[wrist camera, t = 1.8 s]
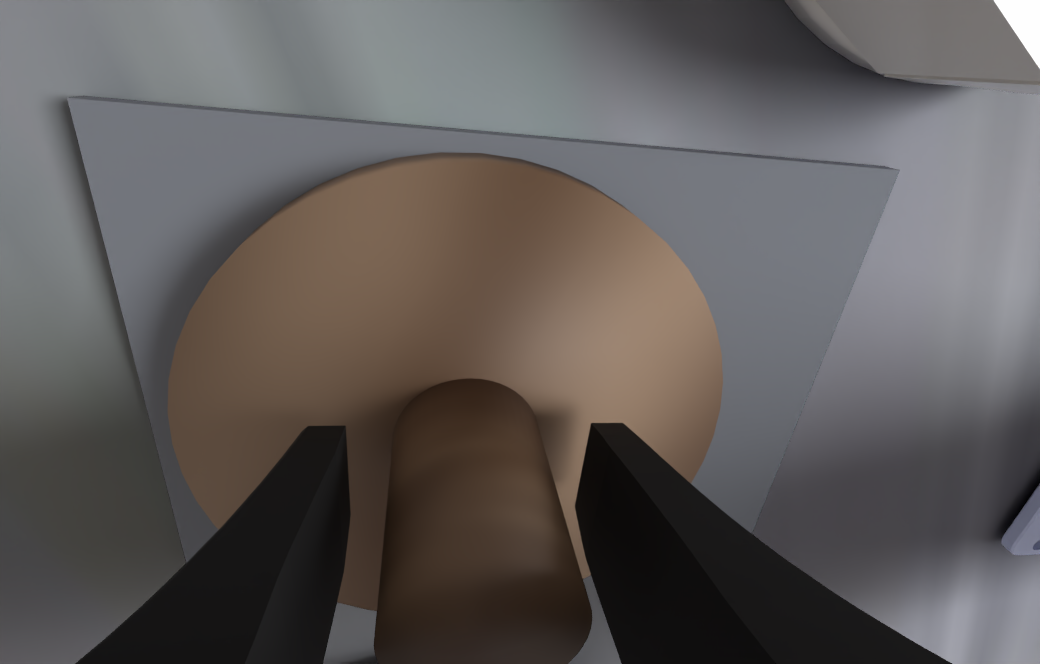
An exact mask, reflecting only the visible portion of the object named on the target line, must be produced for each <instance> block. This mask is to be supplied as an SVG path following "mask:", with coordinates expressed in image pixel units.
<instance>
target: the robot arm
mask: <svg viewBox="0 0 1040 664" xmlns="http://www.w3.org/2000/svg"><path fill="white" fill-rule="evenodd" d="M575 510H576V515H577V520H578V525H579V530H580V535H581V540H582V544H583V549H584V553H585V557H586V561H587V564H588V567H589V570H590V573H591V576H592V579H593V582H594V585H595V588H596V591H597V594H598V597H599V599H600V602H601V605H602V608H603V611H604V614H605V617H606V620H607V623H608V625H609V628H610V631H611V634H612V637H613V640H614V643H615V646H616V649H617V651H618V654H619V657H620V660H621V663H622V664H952V663H950V662H948V661H946V660H945V659H943V658H941V657H939V656H938V655H936V654H934V653H932V652H931V651H929V650H927V649H925V648H923V647H922V646H920V645H918V644H916V643H915V642H913V641H911V640H910V639H908V638H906V637H905V636H903V635H901V634H900V633H898V632H896V631H895V630H893V629H891V628H890V627H888V626H886V625H885V624H883V623H881V622H880V621H878V620H876V619H875V618H873V617H872V616H870V615H868V614H867V613H865V612H863V611H862V610H860V609H858V608H857V607H855V606H854V605H852V604H851V603H849V602H847V601H846V600H844V599H843V598H841V597H840V596H838V595H837V594H835V593H833V592H832V591H830V590H829V589H828V588H826V587H825V586H823V585H822V584H820V583H819V582H817V581H816V580H814V579H813V578H812V577H810V576H809V575H807V574H806V573H804V572H803V571H801V570H800V569H799V568H797V567H796V566H794V565H793V564H791V563H790V562H788V561H787V560H786V559H784V558H783V557H782V556H780V555H779V554H777V553H776V552H775V551H773V550H772V549H771V548H769V547H768V546H767V545H765V544H764V543H763V542H761V541H760V540H759V539H758V538H756V537H755V536H754V535H752V534H751V533H750V532H749V531H747V530H746V529H745V528H744V527H742V526H741V525H740V524H738V523H737V522H736V521H735V520H733V519H732V518H731V517H730V516H728V515H727V514H726V513H725V512H724V511H722V510H721V509H720V508H719V507H718V506H716V505H715V504H714V503H713V502H712V501H710V500H709V499H708V498H707V497H706V496H705V495H703V494H702V493H701V492H700V491H699V490H698V489H696V488H695V487H694V486H693V485H692V484H691V483H690V482H688V481H687V480H686V479H685V478H684V477H683V476H682V475H681V474H679V473H678V472H677V471H676V470H675V469H674V468H673V467H672V466H671V465H669V464H668V463H667V462H666V461H665V460H664V459H663V458H662V457H661V456H660V455H658V454H657V453H656V452H655V451H654V450H653V449H652V448H651V447H650V446H649V445H647V444H646V443H645V442H644V441H643V440H642V439H641V438H640V437H639V436H637V435H636V434H635V433H634V432H633V431H632V430H631V429H629V428H628V427H627V426H626V425H625V424H624V423H591V425H590V430H589V436H588V441H587V446H586V451H585V456H584V461H583V466H582V471H581V476H580V482H579V487H578V492H577V497H576V502H575ZM350 517H351V510H350V492H349V474H348V457H347V439H346V426H307V427H306V428H305V429H304V430H303V431H301V433H300V434H299V435H298V437H297V438H296V439H295V441H294V442H293V443H292V445H291V446H290V447H289V448H288V450H287V451H286V452H285V453H284V455H283V456H282V457H281V459H280V460H279V461H278V462H277V463H276V465H275V466H274V467H273V468H272V470H271V471H270V472H269V473H268V474H267V476H266V477H265V478H264V479H263V480H262V482H261V483H260V484H259V485H258V486H257V487H256V489H255V490H254V491H253V492H252V493H251V494H250V495H249V497H248V498H247V499H246V500H245V501H244V502H243V503H242V504H241V506H240V507H239V508H238V509H237V510H236V511H235V512H234V514H233V515H232V516H231V517H230V518H229V519H228V520H227V521H226V522H225V524H224V525H223V526H222V527H221V528H220V529H219V530H218V531H217V532H216V533H215V534H214V535H213V536H212V537H211V538H210V539H209V540H208V541H207V542H206V543H205V544H204V545H203V546H202V547H201V548H200V549H199V550H198V552H197V553H196V554H195V555H194V556H193V557H192V558H191V559H190V560H189V561H188V562H187V563H186V564H185V565H184V566H183V567H182V568H181V569H180V570H179V571H178V572H177V573H176V574H175V575H174V576H173V577H172V578H171V579H170V580H169V581H168V582H167V583H166V584H165V585H163V586H162V587H161V588H160V589H159V590H158V591H157V592H156V593H155V594H154V595H153V596H152V597H151V598H150V599H149V600H148V601H146V602H145V603H144V604H143V605H142V606H141V607H140V608H139V609H138V610H137V611H136V612H134V613H133V614H132V615H131V616H130V617H129V618H128V619H127V620H126V621H124V622H123V623H122V624H121V625H120V626H119V627H118V628H117V629H115V630H114V631H113V632H112V633H111V634H110V635H109V636H108V637H106V638H105V639H104V640H103V641H102V642H101V643H100V644H98V645H97V646H96V647H95V648H94V649H92V650H91V651H90V652H89V653H88V654H86V655H85V656H84V657H83V658H82V659H80V660H79V661H78V662H77V663H76V664H323V660H324V656H325V651H326V647H327V643H328V639H329V634H330V630H331V626H332V622H333V617H334V613H335V609H336V604H337V600H338V596H339V591H340V587H341V582H342V578H343V574H344V567H345V559H346V551H347V543H348V534H349V526H350ZM1002 545H1003V546H1004V547H1005V548H1006V549H1007V550H1009V551H1010V552H1011V553H1012V554H1013V555H1034V554H1040V484H1039V485H1038V487H1037V488H1036V490H1035V491H1034V493H1033V494H1032V495H1031V497H1030V498H1029V500H1028V501H1027V503H1026V504H1025V505H1024V507H1023V508H1022V510H1021V511H1020V513H1019V514H1018V515H1017V517H1016V518H1015V520H1014V521H1013V523H1012V524H1011V525H1010V527H1009V528H1008V530H1007V531H1006V533H1005V534H1004V535H1003V537H1002Z"/></svg>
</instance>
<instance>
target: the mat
mask: <svg viewBox="0 0 1040 664" xmlns="http://www.w3.org/2000/svg"><path fill="white" fill-rule="evenodd" d="M67 100H68V104H69V108H70V112H71V116H72V120H73V124H74V127H75V131H76V135H77V139H78V143H79V147H80V151H81V155H82V159H83V163H84V166H85V170H86V174H87V178H88V182H89V186H90V190H91V194H92V198H93V202H94V205H95V209H96V213H97V217H98V221H99V225H100V229H101V233H102V237H103V241H104V244H105V248H106V252H107V256H108V260H109V264H110V268H111V272H112V276H113V279H114V283H115V287H116V291H117V295H118V299H119V303H120V307H121V311H122V315H123V318H124V322H125V326H126V330H127V334H128V338H129V342H130V346H131V350H132V354H133V357H134V361H135V365H136V369H137V373H138V377H139V381H140V385H141V389H142V393H143V396H144V400H145V404H146V408H147V412H148V416H149V420H150V424H151V428H152V432H153V435H154V439H155V443H156V447H157V451H158V455H159V459H160V463H161V467H162V471H163V474H164V478H165V482H166V486H167V490H168V494H169V498H170V502H171V506H172V510H173V513H174V517H175V521H176V525H177V529H178V533H179V537H180V541H181V545H182V549H183V552H184V556H185V560H186V563H187V562H188V561H189V560H190V559H191V558H192V557H193V556H194V555H195V554H196V553H197V552H198V550H199V549H200V548H201V547H202V546H203V545H204V544H205V543H206V542H207V541H208V540H209V539H210V538H211V537H212V536H213V535H214V534H215V533H216V532H217V531H218V530H219V529H218V528H217V527H216V526H215V525H214V524H213V523H212V521H211V520H210V519H209V517H208V516H207V515H206V513H205V512H204V511H203V509H202V508H201V506H200V505H199V504H198V502H197V501H196V499H195V497H194V495H193V494H192V492H191V490H190V488H189V486H188V484H187V482H186V480H185V478H184V476H183V474H182V472H181V469H180V466H179V463H178V460H177V457H176V454H175V451H174V448H173V445H172V439H171V432H170V425H169V419H168V381H169V375H170V370H171V366H172V361H173V356H174V351H175V347H176V344H177V341H178V339H179V336H180V334H181V331H182V329H183V327H184V324H185V322H186V319H187V317H188V314H189V312H190V310H191V309H192V307H193V305H194V304H195V302H196V301H197V299H198V297H199V296H200V294H201V293H202V291H203V289H204V288H205V286H206V285H207V283H208V281H209V280H210V279H211V277H212V276H213V275H214V274H215V273H216V272H217V271H218V269H219V268H220V267H221V266H222V265H223V264H224V263H225V262H226V260H227V259H228V258H229V257H230V256H231V255H232V254H233V252H234V251H235V250H236V249H237V248H238V247H239V246H240V245H241V244H242V243H243V242H244V241H245V240H246V239H247V238H248V237H249V236H250V235H251V234H252V233H253V232H254V231H255V230H256V229H257V228H258V227H259V226H260V225H262V224H263V223H264V222H265V221H267V220H268V219H269V218H270V217H271V216H273V215H274V214H275V213H276V212H277V211H279V210H280V209H281V208H282V207H283V206H285V205H286V204H288V203H289V202H291V201H293V200H294V199H296V198H298V197H299V196H301V195H303V194H304V193H306V192H308V191H309V190H311V189H313V188H314V187H316V186H318V185H319V184H322V183H324V182H326V181H329V180H331V179H333V178H336V177H338V176H341V175H343V174H345V173H348V172H350V171H352V170H355V169H357V168H361V167H364V166H368V165H372V164H376V163H379V162H383V161H387V160H391V159H394V158H399V157H407V156H415V155H423V154H431V153H439V152H445V153H484V154H491V155H498V156H505V157H511V158H518V159H523V160H526V161H529V162H533V163H536V164H540V165H543V166H546V167H550V168H553V169H557V170H559V171H561V172H564V173H566V174H568V175H570V176H572V177H575V178H577V179H579V180H581V181H583V182H586V183H588V184H590V185H592V186H593V187H595V188H597V189H598V190H600V191H601V192H603V193H604V194H606V195H607V196H609V197H611V198H612V199H614V200H615V201H617V202H618V203H620V204H621V205H623V206H624V207H625V208H626V209H628V210H629V211H630V212H631V213H633V214H634V215H635V216H636V217H638V218H639V219H640V220H641V221H642V222H644V223H645V224H646V225H647V226H648V227H649V228H650V229H652V230H653V231H654V232H655V233H656V234H657V235H658V236H659V237H661V238H662V239H663V240H664V241H665V242H666V243H667V244H668V245H669V246H670V247H671V249H672V250H673V251H674V252H675V253H676V255H677V256H678V257H679V258H680V259H681V261H682V262H683V263H684V264H685V266H686V267H687V268H688V269H689V271H690V273H691V274H692V276H693V278H694V279H695V281H696V283H697V284H698V286H699V288H700V290H701V291H702V293H703V295H704V296H705V299H706V301H707V304H708V307H709V309H710V312H711V314H712V317H713V320H714V322H715V325H716V329H717V334H718V339H719V344H720V348H721V353H722V371H723V387H722V397H721V407H720V412H719V416H718V420H717V424H716V428H715V432H714V436H713V439H712V441H711V444H710V446H709V449H708V451H707V454H706V456H705V459H704V461H703V463H702V465H701V466H700V468H699V470H698V472H697V474H696V475H695V477H694V479H693V481H692V483H691V484H692V485H693V486H694V487H695V488H696V489H698V490H699V491H700V492H701V493H702V494H703V495H705V496H706V497H707V498H708V499H709V500H710V501H712V502H713V503H714V504H715V505H716V506H718V507H719V508H720V509H721V510H722V511H724V512H725V513H726V514H727V515H728V516H730V517H731V518H732V519H733V520H735V521H736V522H737V523H738V524H740V525H741V526H742V527H744V528H745V529H746V530H747V531H749V532H750V533H751V534H752V532H753V530H754V527H755V525H756V522H757V520H758V518H759V515H760V513H761V510H762V508H763V505H764V503H765V500H766V498H767V495H768V493H769V491H770V488H771V486H772V483H773V481H774V478H775V476H776V473H777V471H778V468H779V466H780V464H781V461H782V459H783V456H784V454H785V451H786V449H787V446H788V444H789V441H790V439H791V437H792V434H793V432H794V429H795V427H796V424H797V422H798V419H799V417H800V414H801V412H802V409H803V407H804V405H805V402H806V400H807V397H808V395H809V392H810V390H811V387H812V385H813V382H814V380H815V378H816V375H817V373H818V370H819V368H820V365H821V363H822V360H823V358H824V355H825V353H826V351H827V348H828V346H829V343H830V341H831V338H832V336H833V333H834V331H835V328H836V326H837V323H838V321H839V319H840V316H841V314H842V311H843V309H844V306H845V304H846V301H847V299H848V296H849V294H850V292H851V289H852V287H853V284H854V282H855V279H856V277H857V274H858V272H859V269H860V267H861V265H862V262H863V260H864V257H865V255H866V252H867V250H868V247H869V245H870V242H871V240H872V238H873V235H874V233H875V230H876V228H877V225H878V223H879V220H880V218H881V215H882V213H883V210H884V208H885V206H886V203H887V201H888V198H889V196H890V193H891V191H892V188H893V186H894V183H895V181H896V179H897V176H898V174H899V171H900V170H897V169H893V168H889V167H885V166H875V165H864V164H852V163H841V162H829V161H818V160H807V159H795V158H784V157H772V156H761V155H750V154H738V153H727V152H716V151H704V150H693V149H681V148H670V147H659V146H647V145H636V144H625V143H613V142H602V141H590V140H579V139H568V138H556V137H545V136H534V135H522V134H511V133H499V132H488V131H477V130H465V129H454V128H443V127H431V126H420V125H408V124H397V123H386V122H374V121H363V120H351V119H340V118H329V117H317V116H306V115H295V114H283V113H272V112H260V111H249V110H238V109H226V108H215V107H204V106H192V105H181V104H169V103H158V102H147V101H135V100H124V99H113V98H101V97H90V96H78V97H70V98H67Z"/></svg>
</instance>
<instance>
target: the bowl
mask: <svg viewBox="0 0 1040 664" xmlns="http://www.w3.org/2000/svg"><path fill="white" fill-rule="evenodd" d="M784 1H785V2H786V4H787V5H788V6H789V8H790V9H791V10H792V12H793V13H794V14H795V16H796V17H797V18H798V19H799V20H800V21H801V22H802V23H803V24H804V25H805V26H806V27H807V28H808V29H809V30H810V31H811V32H812V33H813V34H814V35H816V36H817V37H818V38H819V39H820V40H821V41H822V42H823V43H824V44H825V45H827V46H828V47H830V48H831V49H833V50H834V51H836V52H837V53H839V54H840V55H842V56H843V57H845V58H847V59H848V60H850V61H851V62H853V63H854V64H857V65H859V66H862V67H864V68H866V69H869V70H871V71H874V72H876V73H879V74H881V75H883V76H884V77H891V78H896V79H901V80H906V81H910V82H915V83H926V84H942V85H956V86H964V87H972V88H980V89H989V90H997V91H1005V92H1013V93H1021V94H1036V95H1040V0H784Z"/></svg>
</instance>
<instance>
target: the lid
mask: <svg viewBox="0 0 1040 664" xmlns="http://www.w3.org/2000/svg"><path fill="white" fill-rule="evenodd" d="M722 387H723V371H722V353H721V348H720V344H719V339H718V334H717V329H716V325H715V322H714V320H713V317H712V314H711V312H710V309H709V307H708V304H707V301H706V299H705V296H704V295H703V293H702V291H701V290H700V288H699V286H698V284H697V283H696V281H695V279H694V278H693V276H692V274H691V273H690V271H689V269H688V268H687V267H686V266H685V264H684V263H683V262H682V261H681V259H680V258H679V257H678V256H677V255H676V253H675V252H674V251H673V250H672V249H671V247H670V246H669V245H668V244H667V243H666V242H665V241H664V240H663V239H662V238H661V237H659V236H658V235H657V234H656V233H655V232H654V231H653V230H652V229H650V228H649V227H648V226H647V225H646V224H645V223H644V222H642V221H641V220H640V219H639V218H638V217H636V216H635V215H634V214H633V213H631V212H630V211H629V210H628V209H626V208H625V207H624V206H623V205H621V204H620V203H618V202H617V201H615V200H614V199H612V198H611V197H609V196H607V195H606V194H604V193H603V192H601V191H600V190H598V189H597V188H595V187H593V186H592V185H590V184H588V183H586V182H583V181H581V180H579V179H577V178H575V177H572V176H570V175H568V174H566V173H564V172H561V171H559V170H557V169H553V168H550V167H546V166H543V165H540V164H536V163H533V162H529V161H526V160H523V159H518V158H511V157H505V156H498V155H491V154H484V153H445V152H439V153H431V154H423V155H415V156H407V157H399V158H394V159H391V160H387V161H383V162H379V163H376V164H372V165H368V166H364V167H361V168H357V169H355V170H352V171H350V172H348V173H345V174H343V175H341V176H338V177H336V178H333V179H331V180H329V181H326V182H324V183H322V184H319V185H318V186H316V187H314V188H313V189H311V190H309V191H308V192H306V193H304V194H303V195H301V196H299V197H298V198H296V199H294V200H293V201H291V202H289V203H288V204H286V205H285V206H283V207H282V208H281V209H280V210H279V211H277V212H276V213H275V214H274V215H273V216H271V217H270V218H269V219H268V220H267V221H265V222H264V223H263V224H262V225H260V226H259V227H258V228H257V229H256V230H255V231H254V232H253V233H252V234H251V235H250V236H249V237H248V238H247V239H246V240H245V241H244V242H243V243H242V244H241V245H240V246H239V247H238V248H237V249H236V250H235V251H234V252H233V254H232V255H231V256H230V257H229V258H228V259H227V260H226V262H225V263H224V264H223V265H222V266H221V267H220V268H219V269H218V271H217V272H216V273H215V274H214V275H213V276H212V277H211V279H210V280H209V281H208V283H207V285H206V286H205V288H204V289H203V291H202V293H201V294H200V296H199V297H198V299H197V301H196V302H195V304H194V305H193V307H192V309H191V310H190V312H189V314H188V317H187V319H186V322H185V324H184V327H183V329H182V331H181V334H180V336H179V339H178V341H177V344H176V347H175V351H174V356H173V361H172V366H171V370H170V375H169V381H168V419H169V425H170V432H171V439H172V445H173V448H174V451H175V454H176V457H177V460H178V463H179V466H180V469H181V472H182V474H183V476H184V478H185V480H186V482H187V484H188V486H189V488H190V490H191V492H192V494H193V495H194V497H195V499H196V501H197V502H198V504H199V505H200V506H201V508H202V509H203V511H204V512H205V513H206V515H207V516H208V517H209V519H210V520H211V521H212V523H213V524H214V525H215V526H216V527H217V528H218V529H220V528H221V527H222V526H223V525H224V524H225V522H226V521H227V520H228V519H229V518H230V517H231V516H232V515H233V514H234V512H235V511H236V510H237V509H238V508H239V507H240V506H241V504H242V503H243V502H244V501H245V500H246V499H247V498H248V497H249V495H250V494H251V493H252V492H253V491H254V490H255V489H256V487H257V486H258V485H259V484H260V483H261V482H262V480H263V479H264V478H265V477H266V476H267V474H268V473H269V472H270V471H271V470H272V468H273V467H274V466H275V465H276V463H277V462H278V461H279V460H280V459H281V457H282V456H283V455H284V453H285V452H286V451H287V450H288V448H289V447H290V446H291V445H292V443H293V442H294V441H295V439H296V438H297V437H298V435H299V434H300V433H301V431H303V430H304V429H305V428H306V427H307V426H346V439H347V457H348V474H349V492H350V510H351V517H350V526H349V534H348V543H347V551H346V559H345V567H344V574H343V578H342V582H341V587H340V591H339V596H338V600H337V602H338V603H342V604H347V605H351V606H355V607H359V608H363V609H367V610H374V611H377V616H376V627H375V638H374V650H375V656H376V659H377V661H378V664H568V663H569V662H570V661H571V660H572V659H573V658H574V657H575V656H576V655H577V654H578V652H579V651H580V650H581V648H582V647H583V645H584V643H585V642H586V640H587V638H588V635H589V632H590V629H591V624H592V610H591V606H590V602H589V599H588V596H587V592H586V589H585V585H584V582H583V579H584V578H586V577H588V576H590V575H591V573H590V570H589V567H588V564H587V561H586V557H585V553H584V549H583V544H582V540H581V535H580V530H579V525H578V520H577V515H576V510H575V502H576V497H577V492H578V487H579V482H580V476H581V471H582V466H583V461H584V456H585V451H586V446H587V441H588V436H589V430H590V425H591V423H624V424H625V425H626V426H627V427H628V428H629V429H631V430H632V431H633V432H634V433H635V434H636V435H637V436H639V437H640V438H641V439H642V440H643V441H644V442H645V443H646V444H647V445H649V446H650V447H651V448H652V449H653V450H654V451H655V452H656V453H657V454H658V455H660V456H661V457H662V458H663V459H664V460H665V461H666V462H667V463H668V464H669V465H671V466H672V467H673V468H674V469H675V470H676V471H677V472H678V473H679V474H681V475H682V476H683V477H684V478H685V479H686V480H687V481H688V482H690V483H692V481H693V479H694V477H695V475H696V474H697V472H698V470H699V468H700V466H701V465H702V463H703V461H704V459H705V456H706V454H707V451H708V449H709V446H710V444H711V441H712V439H713V436H714V432H715V428H716V424H717V420H718V416H719V412H720V407H721V397H722Z"/></svg>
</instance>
